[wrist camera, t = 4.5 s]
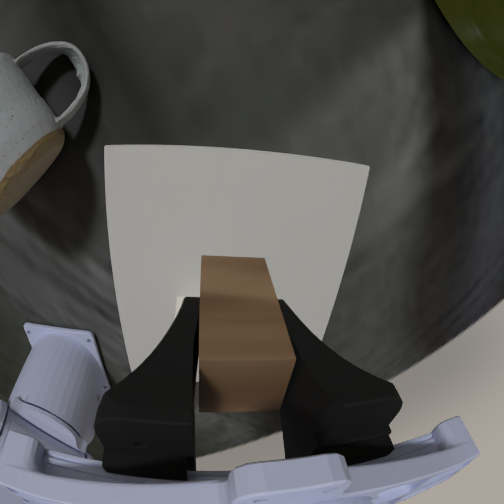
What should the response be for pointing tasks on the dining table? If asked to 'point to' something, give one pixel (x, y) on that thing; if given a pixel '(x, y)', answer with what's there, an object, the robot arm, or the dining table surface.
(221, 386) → the wooden block
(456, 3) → the plant pot
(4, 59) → the ceramic mug
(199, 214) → the mat
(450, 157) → the dining table surface
